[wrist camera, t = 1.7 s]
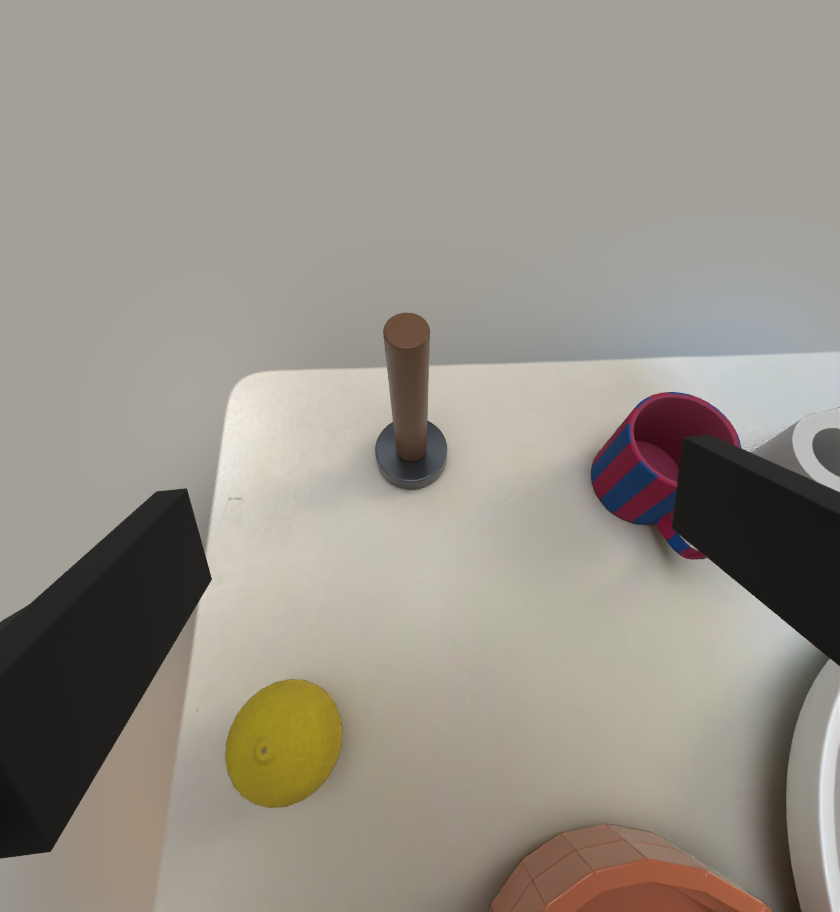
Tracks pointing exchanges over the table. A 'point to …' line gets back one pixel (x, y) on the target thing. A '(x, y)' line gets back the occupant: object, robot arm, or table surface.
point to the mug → (654, 460)
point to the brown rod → (409, 408)
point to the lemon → (283, 743)
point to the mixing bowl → (618, 877)
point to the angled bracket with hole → (809, 448)
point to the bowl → (816, 795)
